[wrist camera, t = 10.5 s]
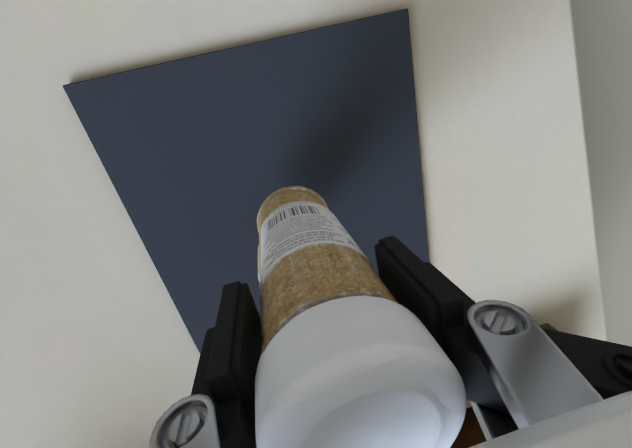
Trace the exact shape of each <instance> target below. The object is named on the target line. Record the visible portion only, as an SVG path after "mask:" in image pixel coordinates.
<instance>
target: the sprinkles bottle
mask: <svg viewBox="0 0 632 448" xmlns="http://www.w3.org/2000/svg"><path fill="white" fill-rule="evenodd" d="M257 230H258V233H259V246H258V279H259V282H260V286H259V287H260V307H261V330H262V351H261V355H260V358H259V363H258V366H257V371H256V376H255V433H256V448H450V447H451V446H452V444H453V442H454V441H455V439H456V438H457V436H458V434H459V431H460V429H461V427H462V424H463V421H464V418H465V413H466V403H467V402H466V391H465V387H464V384H463V381H462V378H461V376H460V374H459V372H458V371H457V369H456V367H455V366H454V364H453V363H452V362H451V360H450V359H449V358H448V356H447V355H446V354H445V352H444V351H443V350H442V348H441V347H440V346H439V344H438V343H437V342H436V340H435V339H434V338H433V336H432V335H431V334H430V332H429V331H428V330H427V329H426V327H425V326H424V325H423V323H422V322H421V321H420V320H419V319H418V318H417V317H416V315H414V314H413V313H412V312H411V311H409V310H408V309H407V308H405V307H404V306H403V305H401V304H400V303H398V302H397V301H396V300H395V298H394V296H393V295H392V294H391V293H390V291H389V290H388V288H387V287H386V286H385V285H384V283H383V282H382V280H381V279H380V278H379V276H378V275H377V273H376V272H375V270H374V268H373V266H372V264H371V263H370V261H369V260H368V259H367V257H366V256H365V255H364V253H363V252H362V251H361V249H360V248H359V247H358V245H357V244H356V243H355V241H354V240H353V239H352V238H351V236H350V235H349V234H348V232H347V231H346V230H345V228H344V227H343V226H342V224H341V223H340V222H339V220H338V219H337V218H336V217H335V215H334V214H333V213H332V212H331V211H330V210H329V208H328V206H327V204H326V202H325V201H324V199H323V198H322V197H321V196H320V195H319V194H317V193H316V192H315V191H313V190H311V189H309V188H306V187H302V186H289V187H286V188H281V189H278V190H277V191H275V192H273V193H272V194H271V195H269V196H268V197H267V198H266V200H265V201H264V202H263V203H262V205H261V207H260V210H259V212H258V215H257Z"/></svg>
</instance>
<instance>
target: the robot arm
mask: <svg viewBox="0 0 632 448" xmlns="http://www.w3.org/2000/svg"><path fill="white" fill-rule="evenodd" d="M374 250H375V256H376V262H377V268H378V274H379V278H380V279H381V280H382V282H383V283H384V285H385V286H386V287H387V288H388V290H389V291H390V293H391V294H392V295H393V296H394V298H395V300H396V301H397V302H398V303H400V304H401V305H403V306H404V307H405V308H407V309H408V310H409V311H411V312H412V313H413V314H414V315H416V317H417V318H418V319H419V320H420V321H421V322H422V323H423V325H424V326H425V327H426V329H427V330H428V331H429V332H430V334H431V335H432V336H433V338H434V339H435V340H436V342H437V343H438V344H439V346H440V347H441V348H442V350H443V351H444V352H445V354H446V355H447V356H448V358H449V359H450V360H451V362H452V363H453V364H454V366H455V367H456V369H457V371H458V372H459V374H460V376H461V378H462V381H463V384H464V387H465V391H466V399H467V400H470V402H471V406H472V408H473V410H474V412H475V415H476V417H477V419H478V422H479V424H480V426H481V428H482V431H483V433H484V435H485V438H486V440H487V441H486V442H483V443H480V444H477V445H475V446H472V447H469V448H632V347H630V346H626V345H621V344H616V343H611V342H607V341H602V340H597V339H592V338H588V337H583V336H578V335H573V334H569V333H564V332H559V331H554V330H550V329H545V328H541V327H540V326H539V325H538V324H537V323H536V322H535V320H534V319H533V318H532V317H531V316H530V315H529V314H528V313H527V312H526V311H525V310H523V309H522V308H520V307H518V306H516V305H514V304H511V303H508V302H505V301H499V300H484V301H480V302H477V303H475V302H474V301H473V300H472V299H471V298H470V297H468V296H467V295H466V294H465V293H464V292H463V291H462V290H460V289H459V288H458V287H457V286H456V285H455V284H454V283H452V282H451V281H450V280H449V279H448V278H447V277H446V276H444V275H443V274H442V273H441V272H440V271H439V270H438V269H436V268H435V267H434V266H433V265H432V264H430V263H429V262H425V263H424V262H423V261H422V260H421V259H420V258H418V257H417V256H416V255H415V254H414V253H413V252H412V251H411V250H410V249H409V248H407V247H406V246H405V245H404V244H403V243H402V242H401V241H400V240H399V239H397V238H396V237H395V236H394V235H393V236H389V237H386V238H382V239H379V240H378V244H376V245H374ZM261 351H262V330H261V318H260V315H259V312H258V310H257V307H256V305H255V302H254V299H253V297H252V294H251V291H250V289H249V286H248V284H247V283H244V284H242V283H241V281H236V282H233V283H229V284H226V285H224V286H223V290H222V295H221V300H220V305H219V310H218V315H217V320H216V325H215V327H212V328H209V329H208V330H207V331H206V334H205V338H204V342H203V347H202V351H201V355H200V359H199V363H198V367H197V372H196V376H195V380H194V384H193V388H192V393H191V395H190V396H187V397H185V398H182V399H181V400H179V401H178V402H176V403H175V404H173V405H172V406H171V407H170V408H169V409H168V410H167V411H166V412H165V413H164V414H163V415H162V416H161V418H160V419H159V420H158V421H157V423H156V425H155V427H154V429H153V431H152V435H151V439H150V446H149V448H256V433H255V376H256V371H257V366H258V363H259V358H260V355H261Z"/></svg>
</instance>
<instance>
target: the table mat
mask: <svg viewBox="0 0 632 448" xmlns="http://www.w3.org/2000/svg"><path fill="white" fill-rule="evenodd" d="M63 88H64V90H65V92H66V94H67V95H68V97H69V99H70V101H71V103H72V105H73V107H74V109H75V111H76V113H77V115H78V117H79V119H80V121H81V123H82V125H83V127H84V129H85V130H86V132H87V134H88V136H89V138H90V140H91V142H92V144H93V146H94V148H95V150H96V152H97V154H98V156H99V158H100V160H101V162H102V164H103V166H104V167H105V169H106V171H107V173H108V175H109V177H110V179H111V181H112V183H113V185H114V187H115V189H116V191H117V193H118V195H119V197H120V199H121V201H122V203H123V204H124V206H125V208H126V210H127V212H128V214H129V216H130V218H131V220H132V222H133V224H134V226H135V228H136V230H137V232H138V234H139V236H140V238H141V239H142V241H143V243H144V245H145V247H146V249H147V251H148V253H149V255H150V257H151V259H152V261H153V263H154V265H155V267H156V269H157V271H158V273H159V275H160V276H161V278H162V280H163V282H164V284H165V286H166V288H167V290H168V292H169V294H170V296H171V298H172V300H173V302H174V304H175V306H176V308H177V310H178V311H179V313H180V315H181V317H182V319H183V321H184V323H185V325H186V327H187V329H188V331H189V333H190V335H191V337H192V339H193V341H194V343H195V345H196V347H197V348H198V350H199V352H200V354H201V351H202V347H203V342H204V338H205V334H206V331H207V330H208V329H209V328H212V327H215V325H216V320H217V315H218V310H219V305H220V300H221V295H222V290H223V286H224V285H226V284H229V283H233V282H236V281H241V283H242V284H244V283H247V284H248V286H249V289H250V291H251V294H252V297H253V299H254V302H255V305H256V307H257V310H258V312H259V315H260V318H261V307H260V287H259V286H260V282H259V279H258V246H259V233H258V230H257V215H258V212H259V210H260V207H261V205H262V203H263V202H264V201H265V200H266V198H267V197H268V196H269V195H271V194H272V193H273V192H275V191H277V190H278V189H281V188H286V187H289V186H302V187H306V188H309V189H311V190H313V191H315V192H316V193H317V194H319V195H320V196H321V197H322V198H323V199H324V201H325V202H326V204H327V206H328V208H329V210H330V211H331V212H332V213H333V214H334V215H335V217H336V218H337V219H338V220H339V222H340V223H341V224H342V226H343V227H344V228H345V230H346V231H347V232H348V234H349V235H350V236H351V238H352V239H353V240H354V241H355V243H356V244H357V245H358V247H359V248H360V249H361V251H362V252H363V253H364V255H365V256H366V257H367V259H368V260H369V261H370V263H371V264H372V266H373V268H374V270H375V272H376V273H377V275H378V276H379V274H378V268H377V262H376V256H375V250H374V245H376V244H378V240H379V239H382V238H386V237H389V236H393V235H394V236H395V237H396V238H397V239H399V240H400V241H401V242H402V243H403V244H404V245H405V246H406V247H407V248H409V249H410V250H411V251H412V252H413V253H414V254H415V255H416V256H417V257H418V258H420V259H421V260H422V261H423V262H424V263H425V262H429V257H428V245H427V233H426V221H425V209H424V197H423V185H422V173H421V161H420V149H419V137H418V125H417V113H416V101H415V89H414V77H413V65H412V53H411V40H410V28H409V16H408V9H403V10H398V11H394V12H389V13H385V14H381V15H376V16H372V17H367V18H363V19H358V20H354V21H349V22H345V23H340V24H336V25H331V26H327V27H322V28H318V29H313V30H309V31H304V32H300V33H295V34H291V35H286V36H282V37H277V38H273V39H268V40H264V41H259V42H255V43H251V44H246V45H242V46H237V47H233V48H228V49H224V50H219V51H215V52H210V53H206V54H201V55H197V56H192V57H188V58H183V59H179V60H174V61H170V62H165V63H161V64H156V65H152V66H147V67H143V68H138V69H134V70H129V71H125V72H120V73H116V74H112V75H107V76H103V77H98V78H94V79H89V80H85V81H80V82H76V83H71V84H67V85H63Z"/></svg>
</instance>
